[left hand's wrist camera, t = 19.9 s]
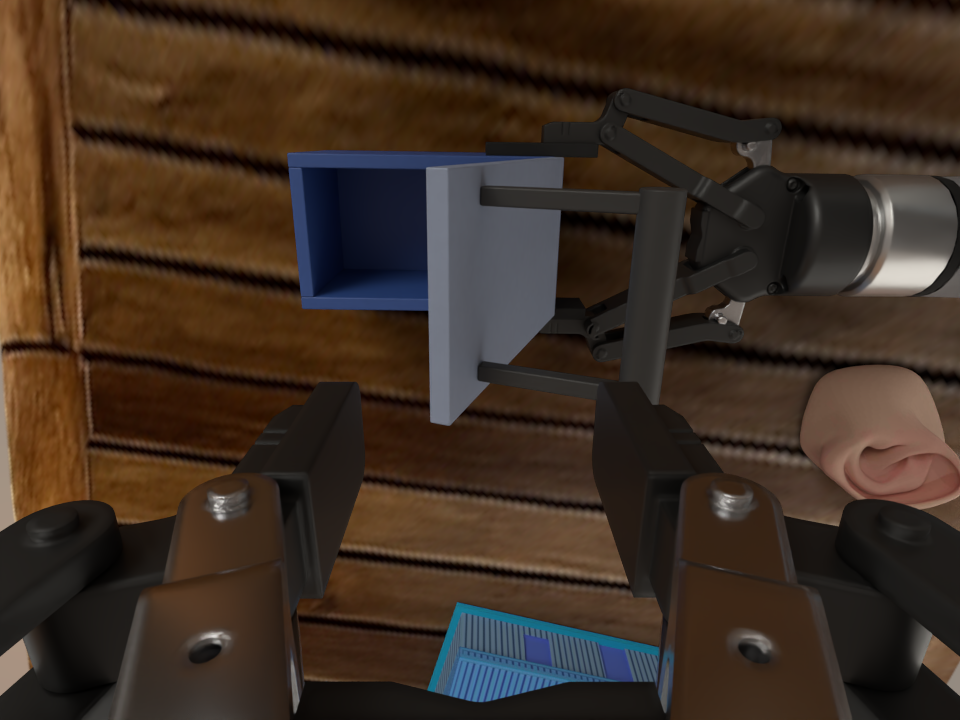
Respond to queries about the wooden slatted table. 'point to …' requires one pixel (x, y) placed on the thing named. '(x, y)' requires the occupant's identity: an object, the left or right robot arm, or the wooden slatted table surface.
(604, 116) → the right robot arm
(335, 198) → the chest
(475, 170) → the grey lid
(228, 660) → the left robot arm
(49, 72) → the wooden slatted table surface
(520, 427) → the wooden slatted table surface
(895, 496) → the anatomical model
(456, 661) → the model building
